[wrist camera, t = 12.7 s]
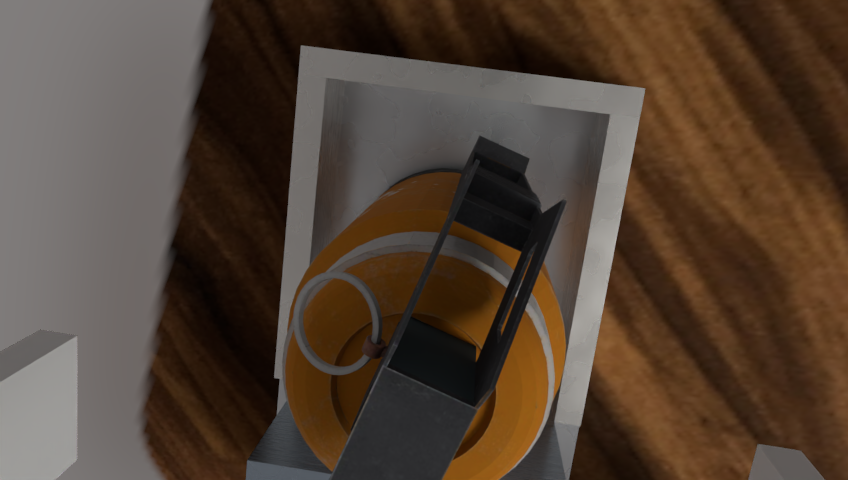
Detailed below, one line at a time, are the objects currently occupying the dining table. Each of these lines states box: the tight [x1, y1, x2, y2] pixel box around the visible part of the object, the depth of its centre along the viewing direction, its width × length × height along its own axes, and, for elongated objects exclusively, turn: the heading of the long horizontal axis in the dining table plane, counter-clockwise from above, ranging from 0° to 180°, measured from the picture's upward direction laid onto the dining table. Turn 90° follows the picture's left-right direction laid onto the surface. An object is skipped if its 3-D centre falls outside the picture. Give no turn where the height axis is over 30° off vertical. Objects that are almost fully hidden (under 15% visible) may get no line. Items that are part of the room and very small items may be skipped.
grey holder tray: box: [246, 45, 645, 480], centre depth 29 cm, size 26×16×14 cm, turn 173°
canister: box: [282, 135, 567, 480], centre depth 24 cm, size 9×11×20 cm
